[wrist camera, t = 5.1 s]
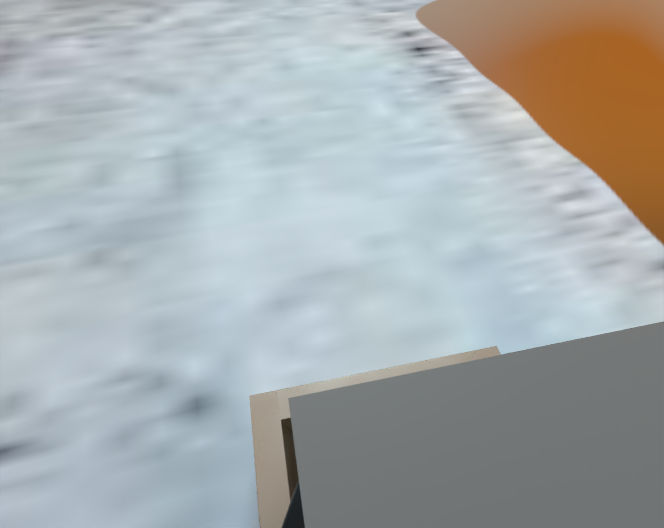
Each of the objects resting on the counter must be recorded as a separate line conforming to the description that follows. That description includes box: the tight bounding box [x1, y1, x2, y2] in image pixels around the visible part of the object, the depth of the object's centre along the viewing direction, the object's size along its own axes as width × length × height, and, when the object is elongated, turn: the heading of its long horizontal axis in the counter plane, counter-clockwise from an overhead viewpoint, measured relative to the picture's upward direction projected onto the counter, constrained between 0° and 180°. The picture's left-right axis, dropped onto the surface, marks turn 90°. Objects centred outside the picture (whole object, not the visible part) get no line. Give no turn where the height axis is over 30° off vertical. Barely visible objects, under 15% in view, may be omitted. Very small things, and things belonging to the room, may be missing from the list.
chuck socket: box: [250, 346, 500, 528], centre depth 11 cm, size 8×8×4 cm
